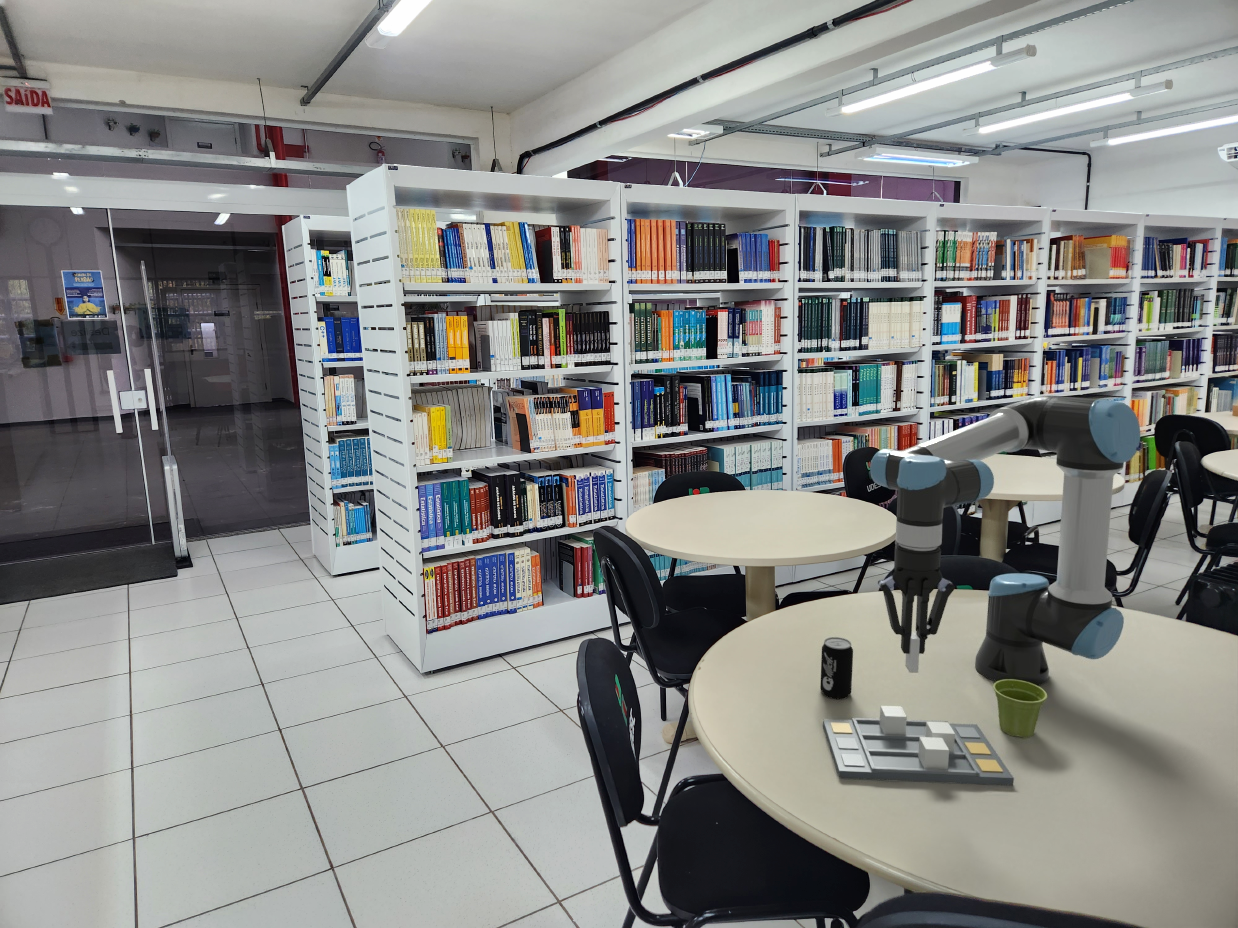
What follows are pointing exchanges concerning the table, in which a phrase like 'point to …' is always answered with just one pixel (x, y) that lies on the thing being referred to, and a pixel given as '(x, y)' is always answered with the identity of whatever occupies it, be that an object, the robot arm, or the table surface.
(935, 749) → the white cube
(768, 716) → the table surface
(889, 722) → the white cube
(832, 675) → the beverage can
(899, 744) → the switch bank
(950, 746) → the white cube
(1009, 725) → the plant pot
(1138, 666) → the table surface
